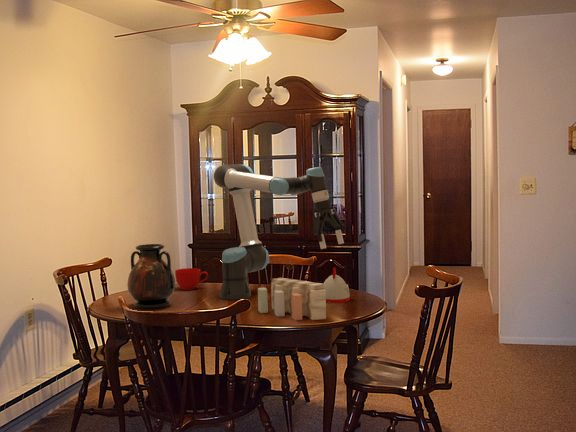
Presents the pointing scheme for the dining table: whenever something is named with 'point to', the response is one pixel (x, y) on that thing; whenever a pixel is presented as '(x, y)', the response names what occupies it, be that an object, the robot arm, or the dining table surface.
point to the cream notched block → (310, 294)
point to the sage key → (262, 300)
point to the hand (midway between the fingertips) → (332, 246)
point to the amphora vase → (151, 277)
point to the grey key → (279, 303)
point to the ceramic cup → (188, 278)
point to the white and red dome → (336, 289)
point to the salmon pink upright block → (296, 306)
